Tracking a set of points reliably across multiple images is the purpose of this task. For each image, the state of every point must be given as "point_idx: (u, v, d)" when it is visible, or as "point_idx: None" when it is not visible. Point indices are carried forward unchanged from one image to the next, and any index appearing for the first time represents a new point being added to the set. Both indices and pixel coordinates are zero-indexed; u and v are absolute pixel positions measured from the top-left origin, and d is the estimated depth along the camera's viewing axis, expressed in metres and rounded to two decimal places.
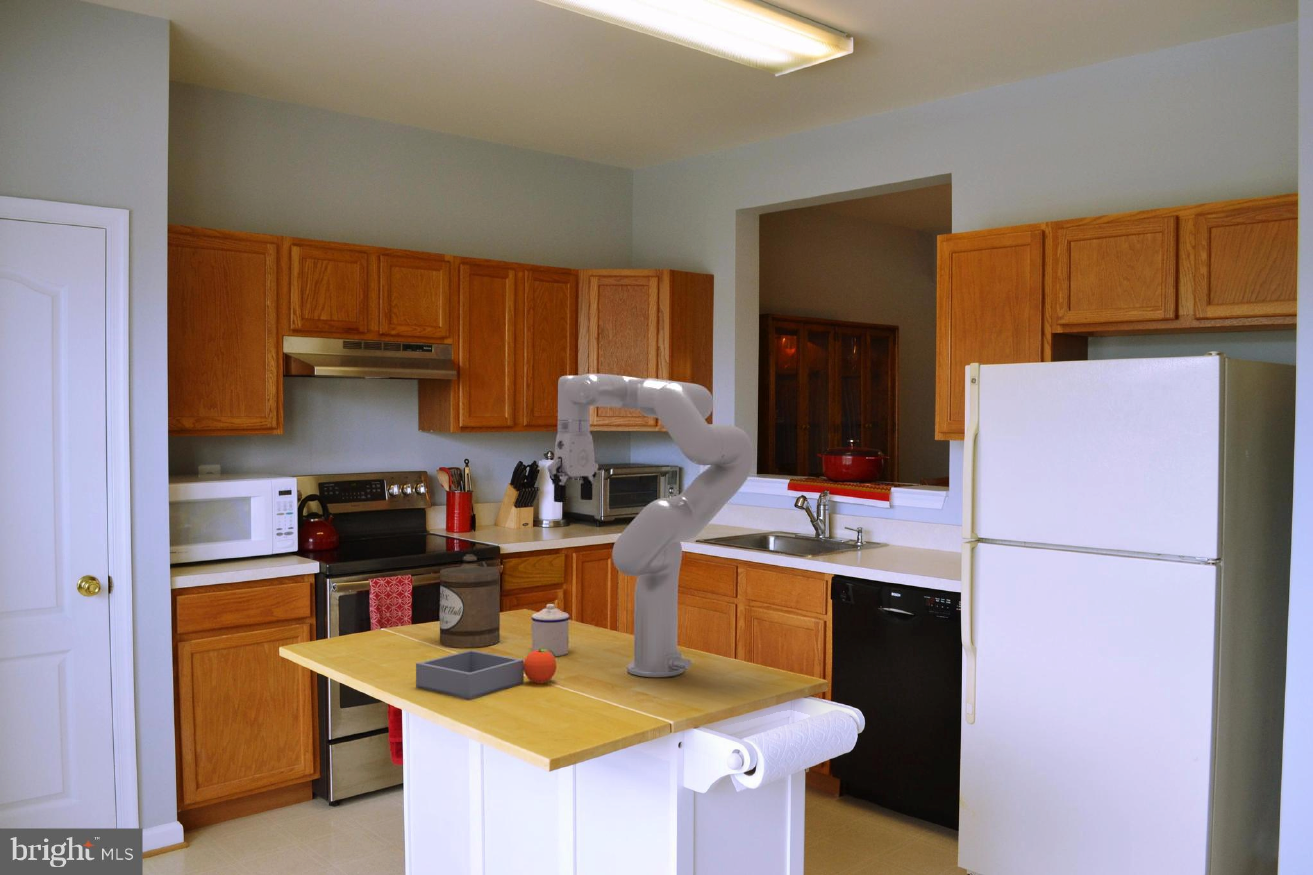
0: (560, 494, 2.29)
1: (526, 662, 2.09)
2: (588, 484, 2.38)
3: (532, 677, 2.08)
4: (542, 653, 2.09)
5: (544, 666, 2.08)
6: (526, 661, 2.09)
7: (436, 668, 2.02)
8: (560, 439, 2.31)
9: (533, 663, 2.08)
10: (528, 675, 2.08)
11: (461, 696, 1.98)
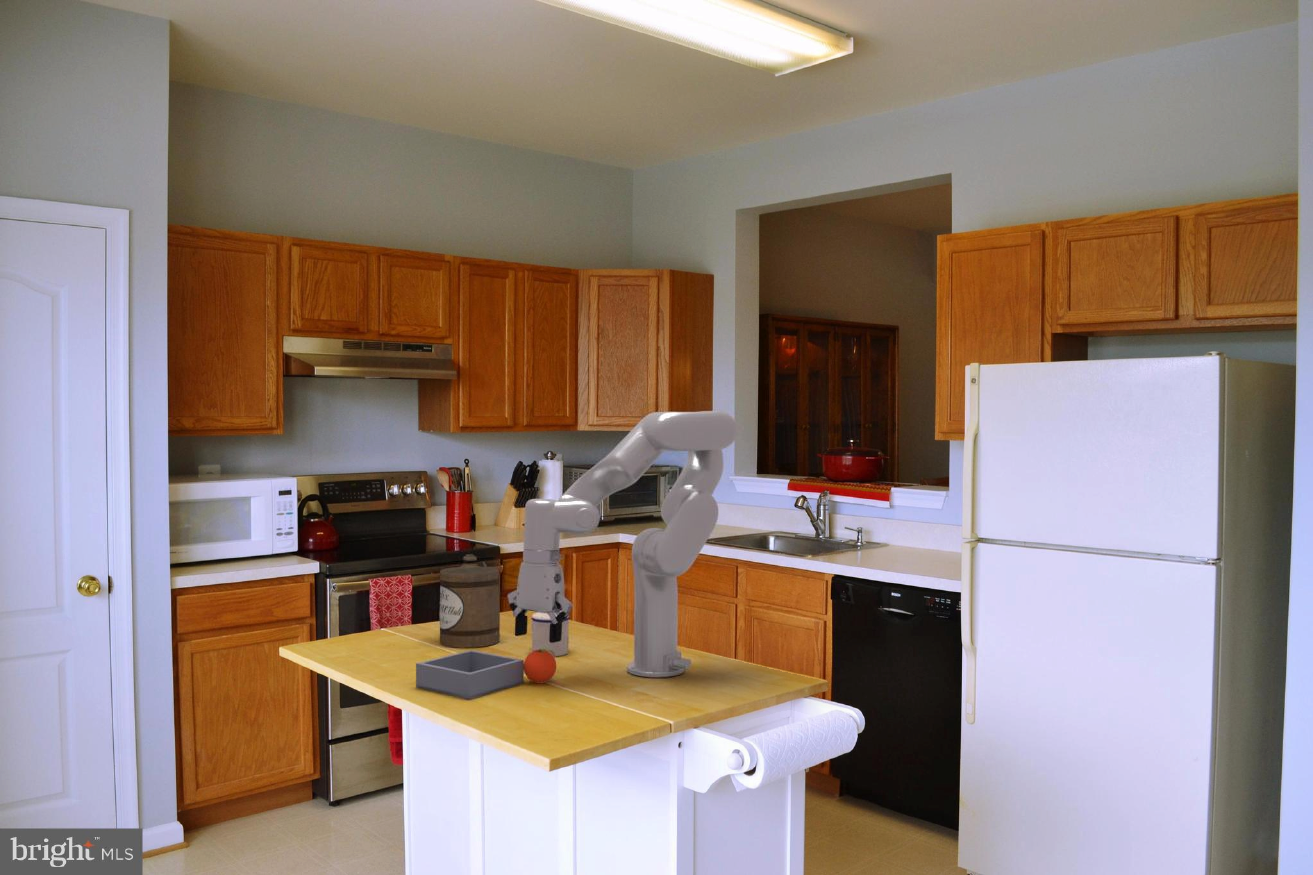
0: None
1: (526, 662, 2.09)
2: (525, 617, 2.14)
3: (532, 677, 2.08)
4: (542, 653, 2.09)
5: (544, 666, 2.08)
6: (526, 661, 2.09)
7: (436, 668, 2.02)
8: (556, 572, 2.08)
9: (533, 663, 2.08)
10: (528, 675, 2.08)
11: (461, 696, 1.98)
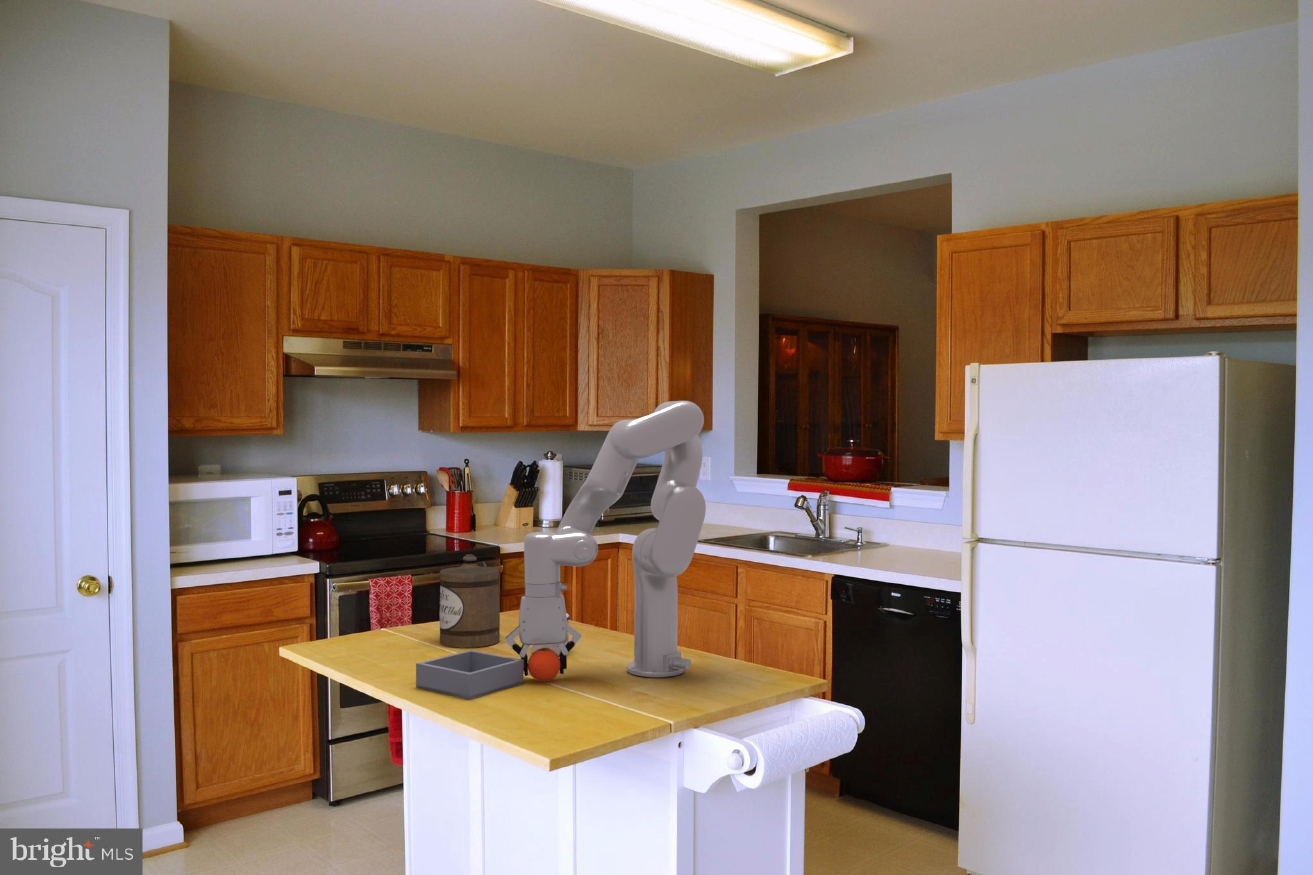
0: None
1: (537, 662, 2.09)
2: None
3: (545, 675, 2.09)
4: (550, 651, 2.11)
5: (556, 663, 2.10)
6: (536, 661, 2.09)
7: (436, 668, 2.02)
8: (564, 601, 2.13)
9: (546, 661, 2.09)
10: (540, 675, 2.09)
11: (461, 696, 1.98)
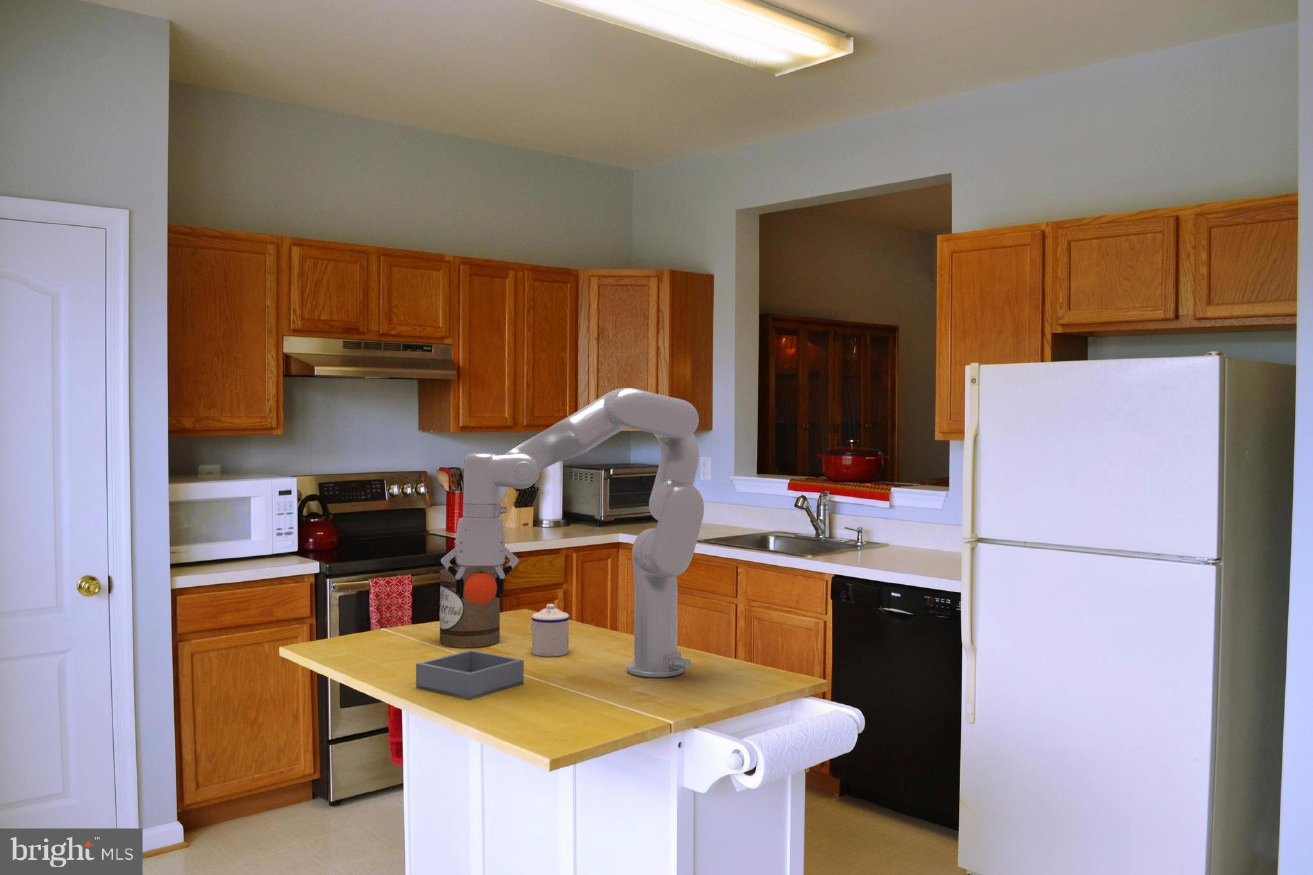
0: None
1: (474, 584, 2.04)
2: (462, 579, 2.08)
3: (482, 598, 2.04)
4: (487, 573, 2.06)
5: (493, 585, 2.05)
6: (473, 583, 2.04)
7: (436, 668, 2.02)
8: None
9: (483, 583, 2.04)
10: (476, 596, 2.04)
11: (461, 696, 1.98)
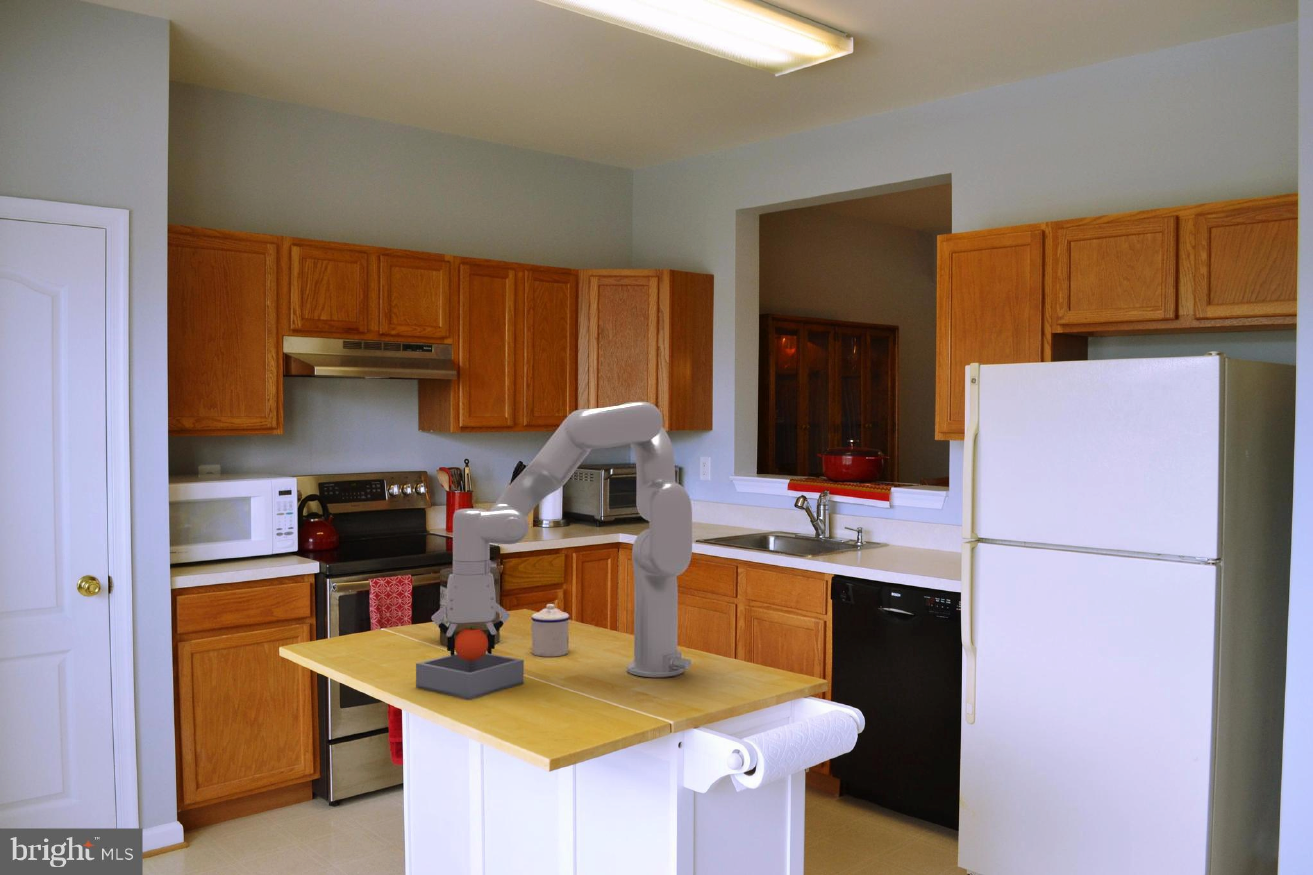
0: None
1: (464, 641, 2.04)
2: None
3: (473, 655, 2.04)
4: (478, 630, 2.06)
5: (484, 642, 2.05)
6: (464, 640, 2.04)
7: (436, 668, 2.02)
8: (493, 580, 2.09)
9: (474, 640, 2.04)
10: (467, 654, 2.04)
11: (461, 696, 1.98)
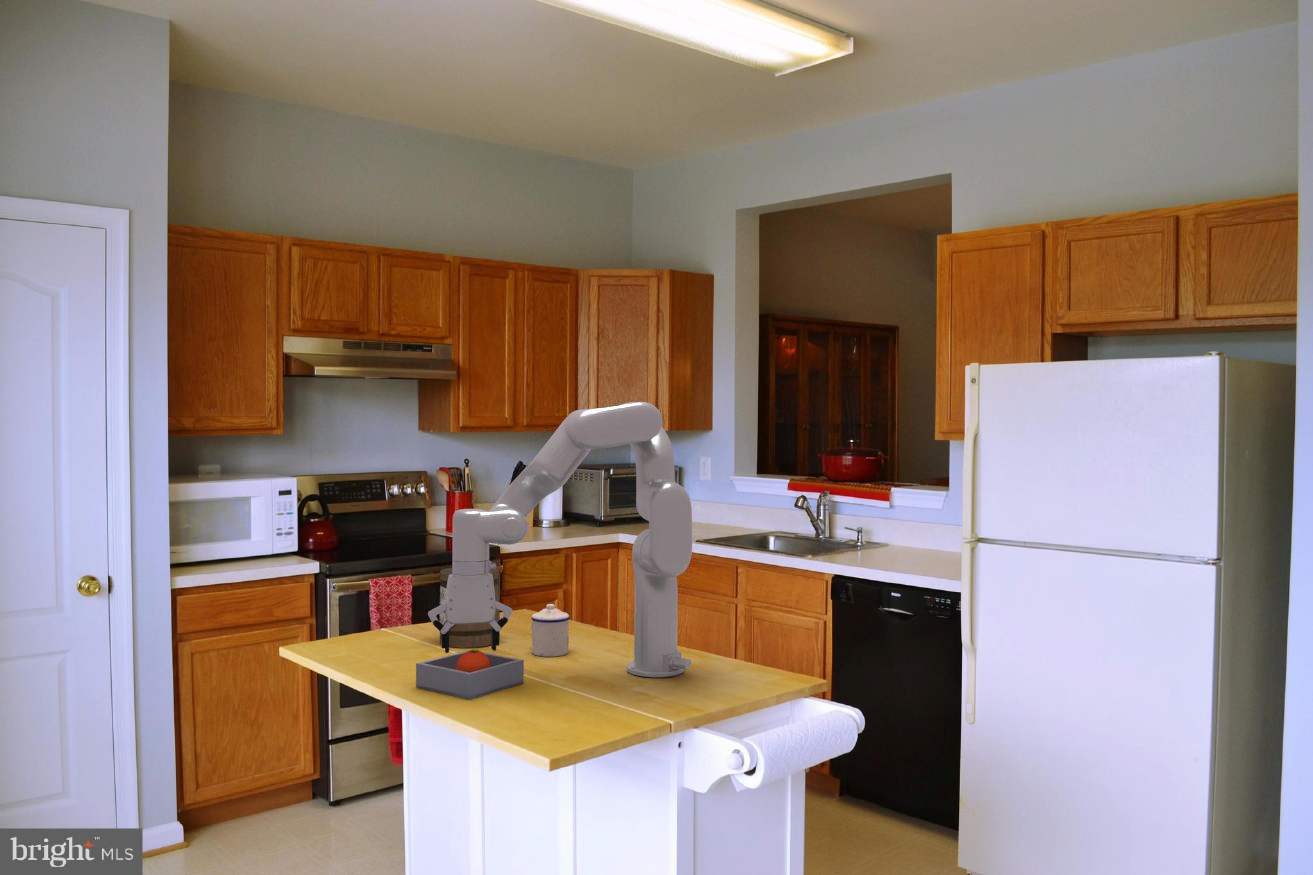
0: None
1: (466, 664, 2.04)
2: (448, 632, 2.07)
3: None
4: (480, 653, 2.06)
5: (486, 665, 2.05)
6: (466, 663, 2.04)
7: (436, 668, 2.02)
8: None
9: (476, 663, 2.04)
10: None
11: (461, 696, 1.98)
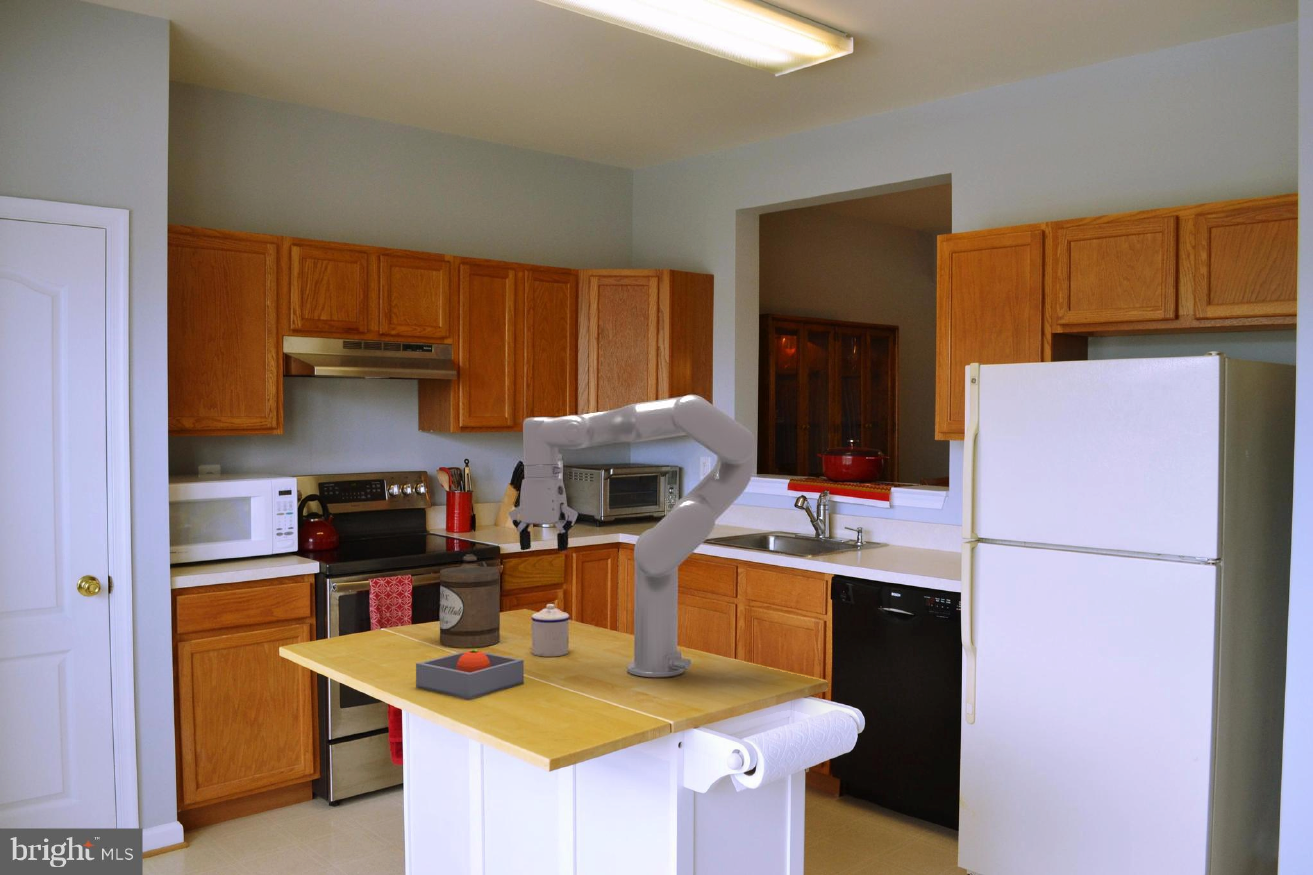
0: None
1: (466, 664, 2.04)
2: (528, 532, 2.24)
3: None
4: (480, 653, 2.06)
5: (486, 665, 2.05)
6: (466, 663, 2.04)
7: (436, 668, 2.02)
8: (559, 484, 2.19)
9: (476, 663, 2.04)
10: None
11: (461, 696, 1.98)
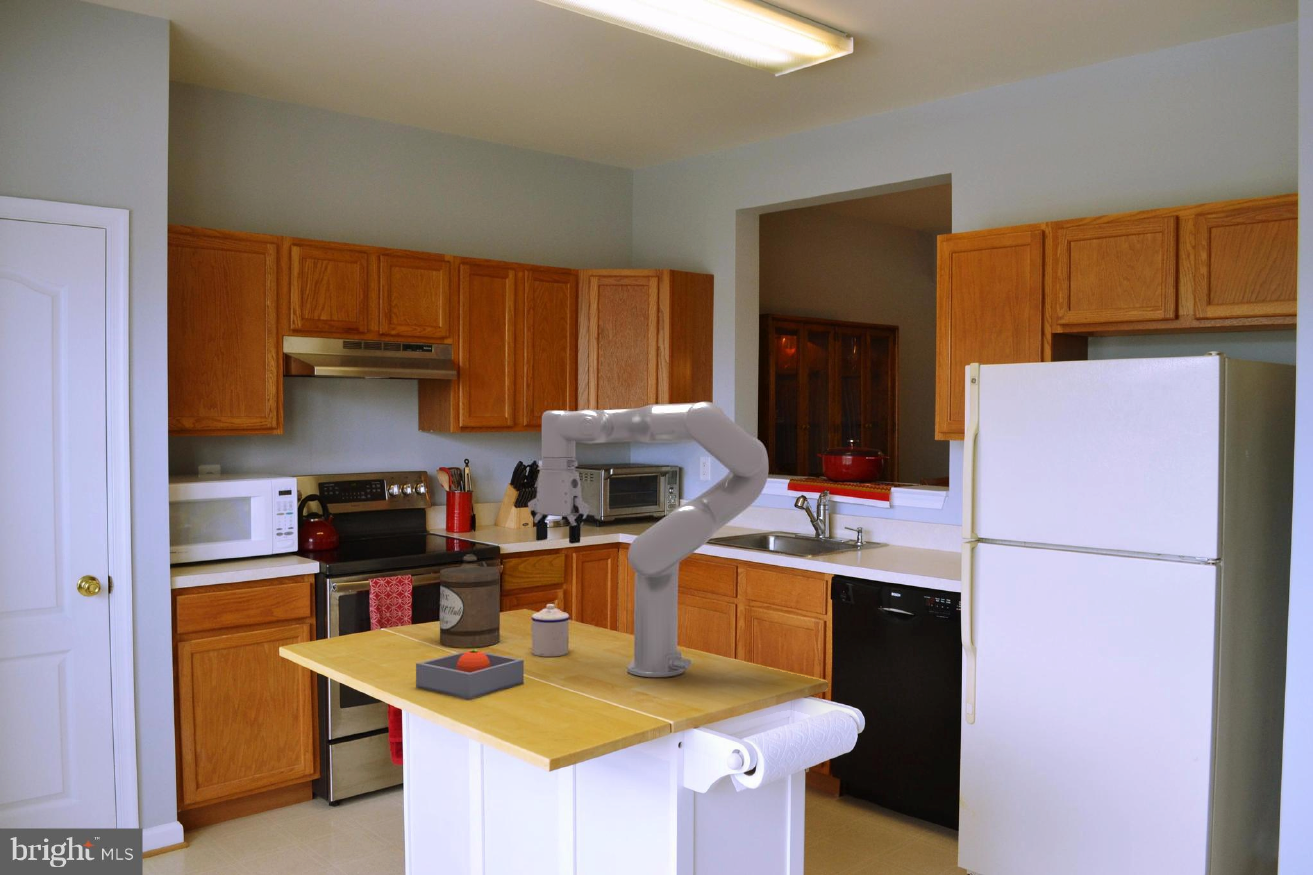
0: None
1: (466, 664, 2.04)
2: (545, 523, 2.27)
3: None
4: (480, 653, 2.06)
5: (486, 665, 2.05)
6: (466, 663, 2.04)
7: (436, 668, 2.02)
8: (573, 477, 2.21)
9: (476, 663, 2.04)
10: None
11: (461, 696, 1.98)
